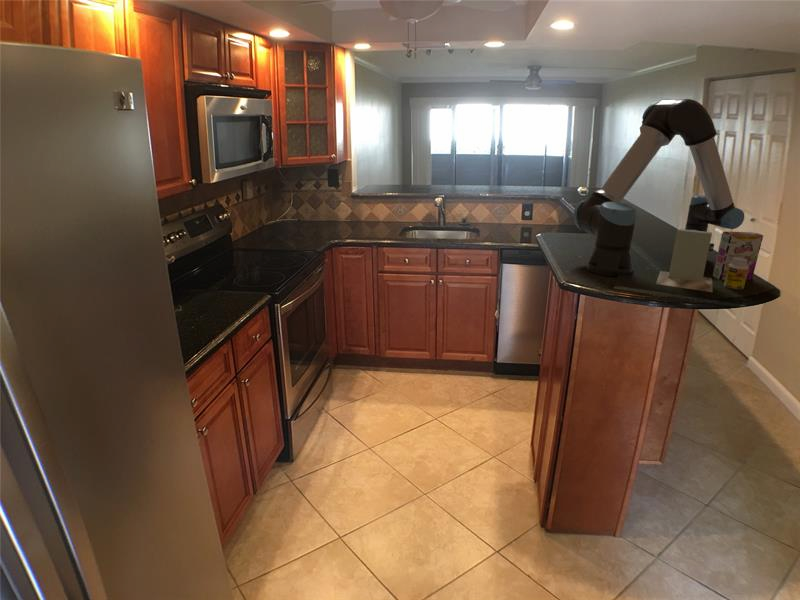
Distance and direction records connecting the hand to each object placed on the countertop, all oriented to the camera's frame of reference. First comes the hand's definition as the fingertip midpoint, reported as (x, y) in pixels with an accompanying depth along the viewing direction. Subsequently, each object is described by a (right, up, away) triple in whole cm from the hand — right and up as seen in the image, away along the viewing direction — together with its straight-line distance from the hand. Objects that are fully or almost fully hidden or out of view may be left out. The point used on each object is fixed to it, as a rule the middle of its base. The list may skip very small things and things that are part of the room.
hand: (693, 254), depth 181 cm
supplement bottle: (+8, -12, -9) cm, 17 cm away
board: (-5, -10, -4) cm, 12 cm away
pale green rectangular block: (-3, -8, -1) cm, 9 cm away
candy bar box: (+14, -9, +1) cm, 16 cm away
